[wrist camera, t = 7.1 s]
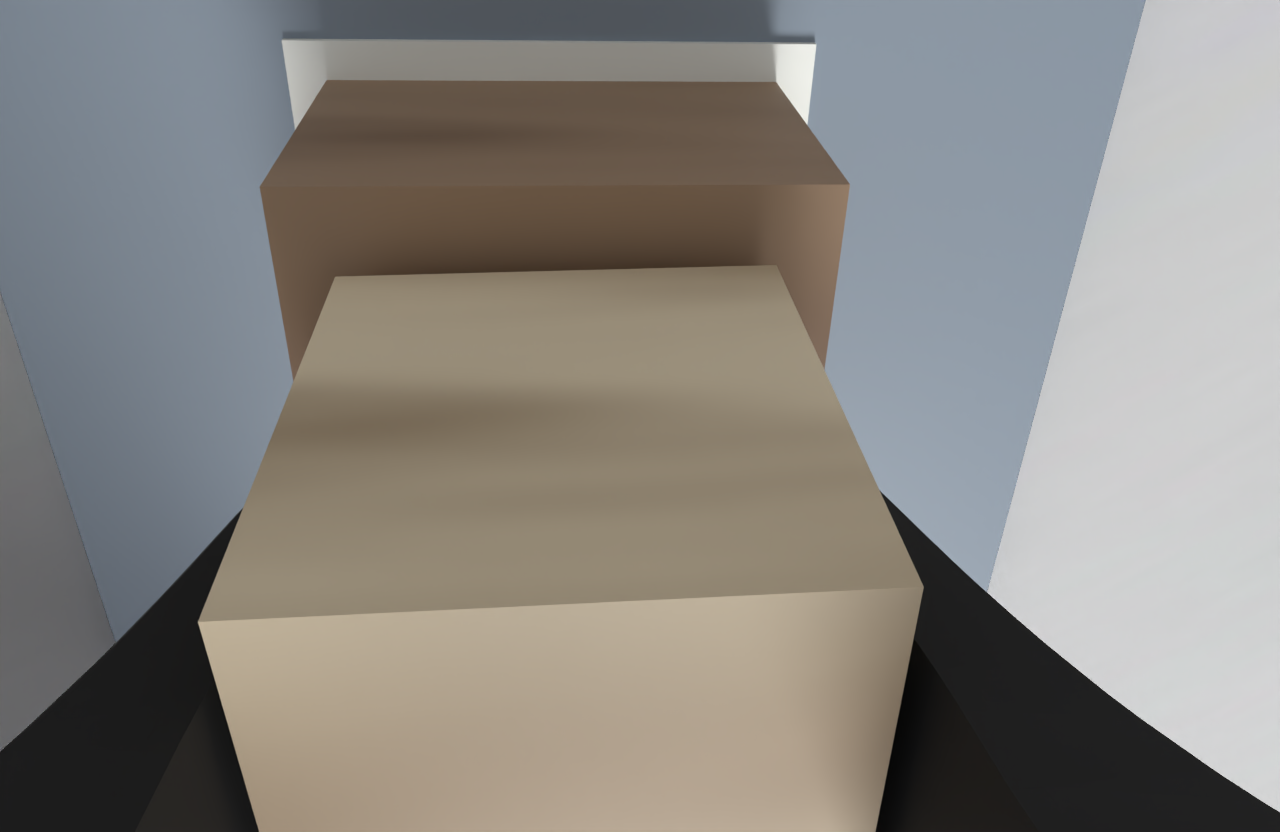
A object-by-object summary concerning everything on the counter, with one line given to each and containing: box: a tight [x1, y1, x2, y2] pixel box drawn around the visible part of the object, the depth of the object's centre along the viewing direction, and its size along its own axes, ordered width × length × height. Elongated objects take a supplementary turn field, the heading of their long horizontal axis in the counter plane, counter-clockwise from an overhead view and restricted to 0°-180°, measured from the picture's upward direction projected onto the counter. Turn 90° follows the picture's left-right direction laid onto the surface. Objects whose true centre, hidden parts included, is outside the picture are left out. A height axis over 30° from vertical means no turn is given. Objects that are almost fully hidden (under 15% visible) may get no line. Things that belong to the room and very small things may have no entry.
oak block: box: [198, 265, 924, 832], centre depth 10 cm, size 4×4×5 cm
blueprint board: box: [0, 0, 1146, 642], centre depth 17 cm, size 14×16×1 cm
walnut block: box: [260, 80, 850, 381], centre depth 14 cm, size 6×6×4 cm
